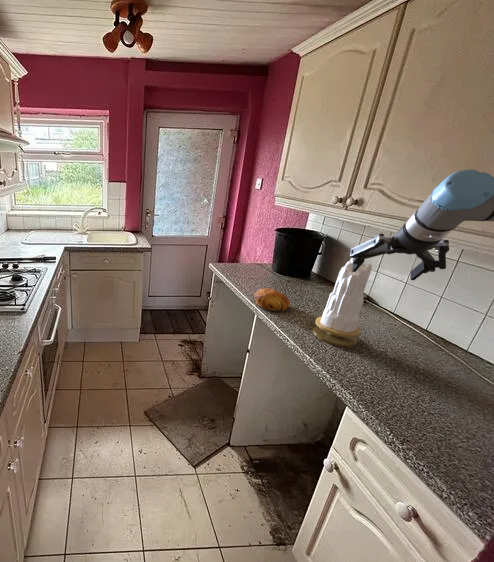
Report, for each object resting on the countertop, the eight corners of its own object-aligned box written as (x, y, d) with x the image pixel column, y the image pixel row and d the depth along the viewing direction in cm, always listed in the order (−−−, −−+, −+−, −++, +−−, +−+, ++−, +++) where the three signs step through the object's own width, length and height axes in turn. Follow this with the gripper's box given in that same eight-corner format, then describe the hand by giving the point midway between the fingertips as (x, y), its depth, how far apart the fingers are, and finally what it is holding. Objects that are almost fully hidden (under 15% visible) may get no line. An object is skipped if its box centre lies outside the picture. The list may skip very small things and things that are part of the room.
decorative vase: (356, 335, 108) (381, 267, 99) (320, 326, 113) (340, 261, 104) (354, 323, 116) (376, 259, 107) (320, 315, 122) (339, 254, 112)
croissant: (252, 312, 138) (255, 297, 134) (253, 295, 150) (256, 280, 147) (288, 318, 133) (293, 302, 129) (286, 300, 145) (290, 285, 141)
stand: (347, 330, 121) (351, 319, 119) (363, 350, 109) (368, 337, 107) (307, 325, 124) (311, 313, 122) (319, 343, 112) (323, 331, 110)
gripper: (358, 236, 74) (330, 275, 93) (501, 251, 65) (439, 291, 83) (360, 210, 77) (332, 254, 95) (497, 221, 67) (438, 267, 86)
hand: (382, 271), depth 89 cm, fingers open, 13 cm apart
